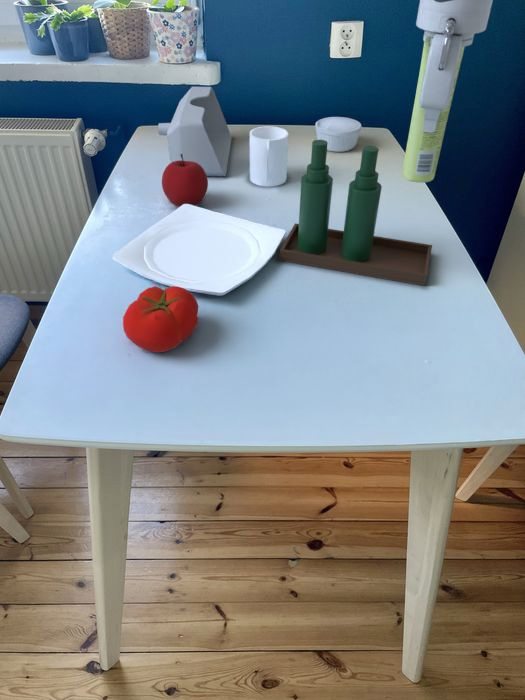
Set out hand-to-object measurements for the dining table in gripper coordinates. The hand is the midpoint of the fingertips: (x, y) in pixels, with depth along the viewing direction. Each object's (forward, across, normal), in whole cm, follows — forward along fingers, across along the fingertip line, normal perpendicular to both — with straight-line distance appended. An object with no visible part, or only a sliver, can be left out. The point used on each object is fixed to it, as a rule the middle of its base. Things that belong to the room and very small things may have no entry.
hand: (430, 123), depth 78 cm
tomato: (+24, -30, +31) cm, 50 cm away
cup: (+24, +25, +32) cm, 47 cm away
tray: (+24, 0, +8) cm, 26 cm away
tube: (+8, 0, 0) cm, 8 cm away
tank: (+24, +34, +53) cm, 67 cm away
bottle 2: (+24, 0, +8) cm, 25 cm away
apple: (+24, +10, +45) cm, 52 cm away
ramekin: (+24, +51, +22) cm, 61 cm away
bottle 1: (+24, 0, +16) cm, 29 cm away
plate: (+24, -8, +34) cm, 43 cm away
